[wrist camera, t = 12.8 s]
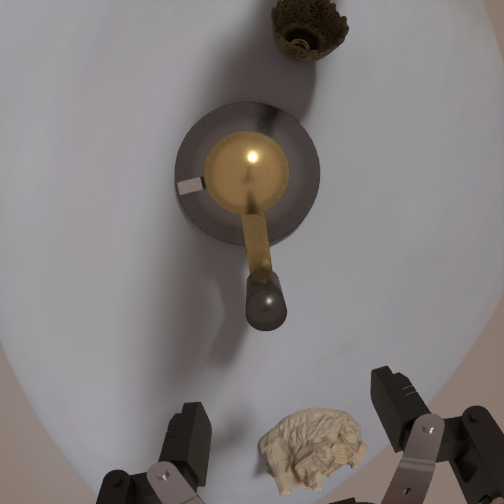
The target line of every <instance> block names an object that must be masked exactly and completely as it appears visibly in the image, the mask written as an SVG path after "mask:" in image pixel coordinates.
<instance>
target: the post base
mask: <svg viewBox="0 0 504 504" xmlns="http://www.w3.org/2000/svg"><path fill="white" fill-rule="evenodd" d="M242 131H252V132H257V133H260V134H263V135H265V136H267V137H269V138H271V139H272V140H273V141H275V142H276V143H277V144H278V145H279V146H280V148H281V149H282V151H283V152H284V154H285V156H286V159H287V161H288V166H289V180H288V185H287V187H286V190H285V192H284V194H283V195H282V197H281V198H280V199H279V201H278V202H277V203H276V204H275V205H273V206H272V207H271V208H269V209H267V210H265V211H264V213H265V220H266V227H267V234H268V242H270V241H273V240H275V239H278V238H280V237H282V236H284V235H285V234H287V233H289V232H290V231H291V230H293V229H294V228H295V227H296V226H297V225H298V224H299V223H300V222H301V221H302V220H303V219H304V218H305V216H306V215H307V214H308V212H309V211H310V209H311V207H312V206H313V203H314V201H315V199H316V196H317V192H318V189H319V183H320V164H319V158H318V155H317V151H316V148H315V146H314V144H313V142H312V140H311V138H310V136H309V135H308V133H307V132H306V131H305V129H304V128H303V127H302V126H301V125H300V124H299V123H298V122H297V121H296V120H295V119H294V118H292V117H291V116H290V115H288V114H287V113H285V112H283V111H281V110H280V109H277V108H275V107H272V106H269V105H266V104H262V103H254V102H241V103H234V104H230V105H226V106H223V107H220V108H218V109H216V110H214V111H212V112H210V113H208V114H207V115H205V116H204V117H203V118H202V119H200V120H199V121H198V122H197V123H196V124H195V125H194V126H193V127H192V128H191V129H190V131H189V132H188V133H187V135H186V136H185V138H184V140H183V142H182V144H181V146H180V149H179V151H178V155H177V159H176V164H175V183H176V190H177V193H178V196H179V199H180V201H181V204H182V206H183V208H184V209H185V211H186V213H187V214H188V216H189V217H190V218H191V219H192V220H193V222H194V223H195V224H196V225H197V226H199V227H200V228H201V229H202V230H203V231H205V232H206V233H208V234H209V235H211V236H213V237H215V238H217V239H219V240H222V241H224V242H228V243H232V244H239V245H246V244H245V238H244V231H243V225H242V218H241V214H236V213H232V212H230V211H228V210H226V209H224V208H222V207H221V206H220V205H218V204H217V203H216V202H215V201H214V200H213V198H212V197H211V195H210V194H209V192H208V190H207V187H206V184H205V180H204V167H205V162H206V159H207V157H208V155H209V153H210V151H211V149H212V148H213V147H214V146H215V145H216V144H217V143H218V142H219V141H220V140H221V139H223V138H224V137H226V136H228V135H230V134H233V133H236V132H242Z"/></svg>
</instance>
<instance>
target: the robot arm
mask: <svg viewBox="0 0 504 504" xmlns="http://www.w3.org/2000/svg"><path fill="white" fill-rule="evenodd" d="M370 394H371V400H372V403H373V405H374V408H375V410H376V412H377V414H378V416H379V418H380V420H381V423H382V425H383V427H384V429H385V431H386V434H387V436H388V438H389V440H390V442H391V445H392V447H393V449H394V451H395V453H397V452H399V451H403V456H402V459H401V460H400V462H399V464H398V467H397V469H396V471H395V474H394V476H393V478H392V481H391V483H390V485H389V487H388V489H387V492H386V493H385V496H384V498H383V500H382V502H381V504H423V501H424V499H425V496H426V493H427V491H428V488H429V485H430V482H431V479H432V476H433V473H434V470H435V463H437V462H443V461H449V463H450V465H451V467H452V469H453V471H454V474H455V476H456V478H457V480H458V483H459V485H460V487H461V490H462V492H463V494H464V497H465V499H466V502H467V504H504V434H503V432H502V431H501V429H500V428H499V426H498V425H497V423H496V422H495V420H494V419H493V417H492V416H491V415H490V413H489V412H488V410H487V409H486V408H484V407H482V406H471V407H469V408H467V409H466V410H465V411H464V413H463V415H462V416H460V417H454V418H448V419H442V418H441V417H440V416H438V415H436V414H432V413H431V412H430V411H429V409H428V408H427V406H426V405H425V403H424V402H423V400H422V398H421V397H420V395H419V394H418V392H416V389H415V388H414V386H412V383H411V382H410V380H409V379H408V377H406V376H404V375H403V374H401V373H400V372H399V373H396V374H393V373H392V371H391V370H390V368H389V367H388V366H383V367H380V368H377V369H374V370H372V371H371V391H370ZM167 430H168V431H167V432H166V438H165V440H164V443H163V447H162V450H161V454H160V458H159V461H158V463H155V464H153V465H152V466H151V467H150V468H149V469H148V471H147V472H145V473H140V474H135V475H129V474H128V473H127V472H125V471H123V470H113V471H110V472H109V473H108V474H106V476H105V477H104V479H103V482H102V485H101V488H100V492H99V495H98V498H97V502H96V504H205V503H204V502H203V501H202V499H201V498H200V497H199V496H198V495H197V486H205V484H206V476H207V468H208V459H209V451H210V443H211V435H212V428H211V423H210V421H209V418H208V416H207V414H206V412H205V410H204V407H203V405H202V403H201V402H190V403H184V405H183V409H182V413H177V414H175V415H174V416H173V418H172V419H171V420H170V422H169V425H168V429H167ZM329 504H374V503H368V502H355V498H354V497H353V498H349V499H346V500H342V501H337V502H334V503H329Z"/></svg>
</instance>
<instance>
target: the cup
mask: <svg viewBox="0 0 504 504" xmlns="http://www.w3.org/2000/svg"><path fill="white" fill-rule="evenodd" d="M335 7H336V5H335V4H334V3H332V4H330V2H329V0H284V1H283V2H282V0H279V1H278V3H277V6H276V7H274V8H273V9H272V14H271V16H272V28H273V36H274V40H275V42H276V44H277V46H278V48H279V49H280V50H281V52H282V53H284V54H285V55H286V56H288V57H289V58H291V59H293V60H296V61H300V62H313V61H317V60H319V59H322V58H324V57H325V56H327V55H328V54H329V53H331V52H332V51H333V50H334V49H336V48H337V47H338V46H339V45H340V44H342V43H343V41H344V40H345V39H344V38H345V36H346V35H347V33H348V31H349V26H348V25H347V23H346V22H347V18H346V16H342V17H340V15H339V13H338V12H337V11H336V9H335ZM296 43H300V44H302V45H304V47H305V49H304V48H302V47H299V46H296V45H294V44H296Z"/></svg>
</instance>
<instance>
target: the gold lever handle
mask: <svg viewBox="0 0 504 504" xmlns="http://www.w3.org/2000/svg"><path fill="white" fill-rule="evenodd" d="M204 180H205V184H206V187H207V190H208V192H209V194H210V195H211V197H212V198H213V200H214V201H215V202H216V203H217V204H218V205H220V206H221V207H222V208H224V209H226V210H228V211H230V212H232V213H236V214H241V218H242V225H243V231H244V238H245V244H246V250H247V257H248V263H249V269H250V275H249V276H248V279H247V285H246V318H247V321H248V323H249V324H250V325H251V326H252V327H253V328H255V329H257V330H260V331H272V330H275V329H277V328H278V327H280V326H281V325H282V324H283V323H284V321H285V319H286V316H287V308H286V304H285V301H284V297H283V293H282V289H281V285H280V282H279V278H278V276H277V275H276V273H275V272H273V271H272V264H271V256H270V249H269V242H268V234H267V227H266V220H265V213H264V211H265V210H267V209H269V208H271V207H272V206H273V205H275V204H276V203H277V202H278V201H279V199H280V198H281V197H282V195H283V194H284V192H285V190H286V187H287V185H288V180H289V166H288V161H287V159H286V156H285V154H284V152H283V151H282V149H281V148H280V146H279V145H278V144H277V143H276V142H275V141H273V140H272V139H271V138H269V137H267V136H265V135H263V134H260V133H257V132H252V131H242V132H236V133H233V134H230V135H228V136H226V137H224V138H223V139H221V140H220V141H219V142H218V143H217V144H216V145H215V146H214V147H213V148H212V149H211V151H210V153H209V155H208V157H207V159H206V162H205V167H204Z"/></svg>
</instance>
